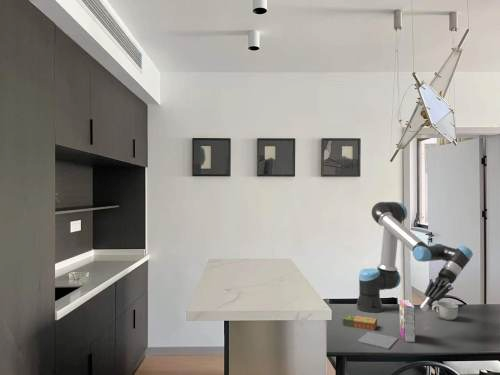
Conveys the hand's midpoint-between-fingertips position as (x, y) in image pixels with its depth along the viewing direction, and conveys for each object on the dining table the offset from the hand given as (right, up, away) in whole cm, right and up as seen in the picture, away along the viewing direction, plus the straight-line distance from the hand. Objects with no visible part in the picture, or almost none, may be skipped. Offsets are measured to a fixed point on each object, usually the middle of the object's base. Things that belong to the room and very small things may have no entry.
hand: (422, 309), depth 176 cm
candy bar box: (-9, -13, -3) cm, 16 cm away
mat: (-24, -12, -6) cm, 27 cm away
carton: (-26, -14, +14) cm, 33 cm away
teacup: (+25, -14, +27) cm, 40 cm away
